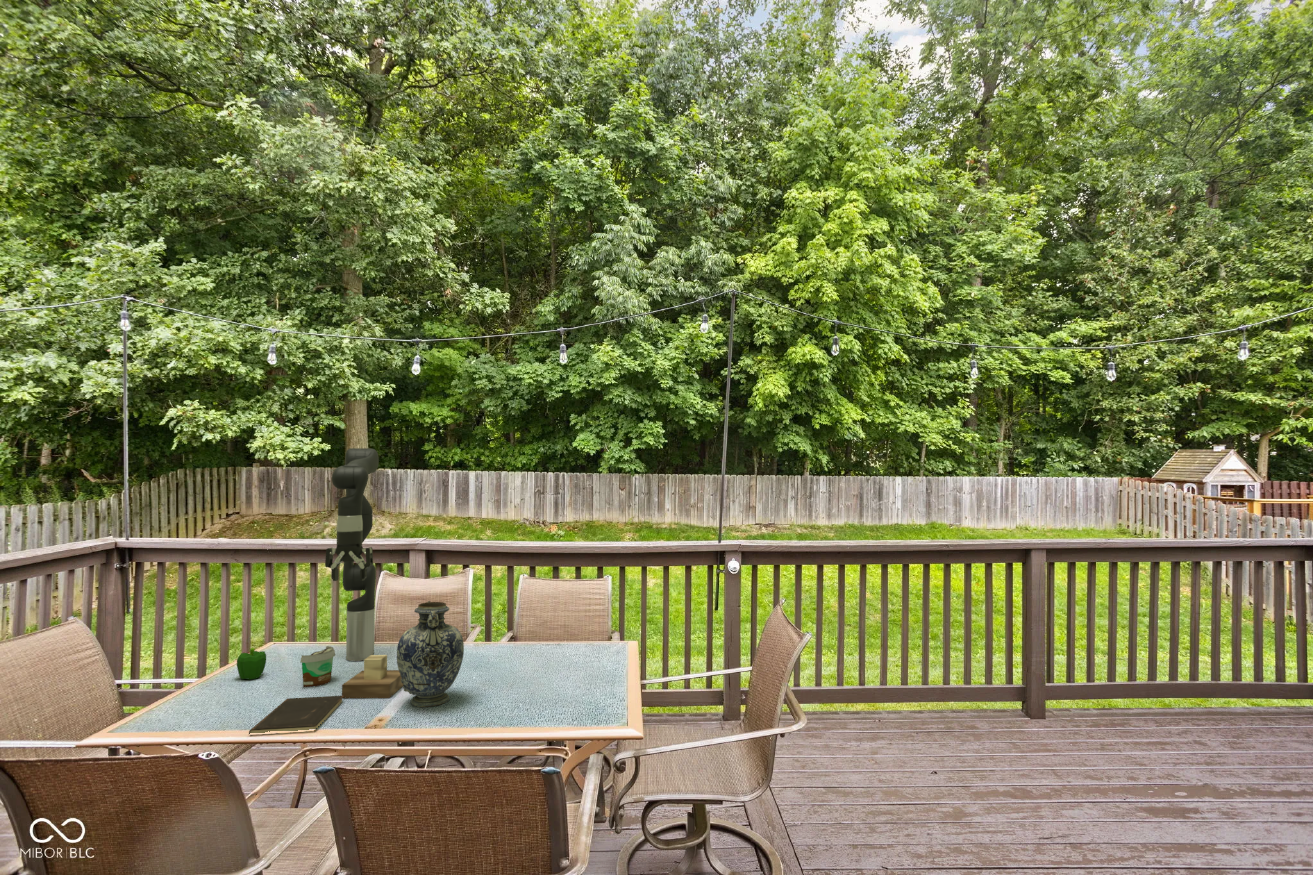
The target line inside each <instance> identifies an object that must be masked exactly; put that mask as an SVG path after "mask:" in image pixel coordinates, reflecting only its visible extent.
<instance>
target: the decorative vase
mask: <svg viewBox="0 0 1313 875" xmlns="http://www.w3.org/2000/svg"><path fill="white" fill-rule="evenodd" d="M448 611H450V607H449V606H448V605H447V603H446V602H442V601H431V600H427V602H423V603H419V604H418V606H417V607H415V609H414V613H416V614H418V616H419V617H418V620H417V621H418V623H417V625H415V626H411V628H408V629H407V630H406V631H405V632H404V633H403V634H402V635H401V636H400V638H399V641H398V643H397V648H396V663H397V670H399V672H400V675H401V677H402V679H401V683H403V687H402V688H403V692H405V693H409V695H413V696H412V698H411V700H410V704H411V705H412V706H414V707H416V706H417V707H418V708H432V707H438V706H441V705H443V704H446V703H447V702H449V701H450V695H449V694H448V693H446V691H447V690H449V689H450V688H451V686H452V685H453V684H454V682H455V681H456V680H457V677H458V674H460V673H459V672H460V670H461V666H462V664H463V660H464V653H465V652H464V651H465V648H464V646H465V643H464V639H463V635H462V633H461V631H460V630H459V628H457V627H456V626H454V625H451V624H448V623H446V622H445V619H446V618H445V614H446V612H448Z"/></svg>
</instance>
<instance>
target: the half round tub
mask: <svg viewBox="0 0 1313 875" xmlns="http://www.w3.org/2000/svg"><path fill="white" fill-rule="evenodd" d="M335 656H336V651H335V647H333V646H330V645H326V646H325V648H324V649H322V650H319V651H314V652H312V653H311V654H307V655H301V657H300V663H301V671H302V672H301V673H302V687H303V688H314V687H313V686H315V687H320V685H321V686H324V685H327V684H330V683H331V681H332V672H333V663H334V662H333V660H334V657H335Z"/></svg>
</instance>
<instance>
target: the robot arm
mask: <svg viewBox="0 0 1313 875" xmlns="http://www.w3.org/2000/svg"><path fill="white" fill-rule="evenodd" d="M379 461H380V460H379V453H378V451H377V450H376V449H375V448H369V447H367V448H366V447H364V448H362V447H361V448H360V447H359V448H358V447H357V448H354V447H352V448H347V450H346V452H345V456H344V463H345V464H344V465H341V466H338V467H336V468H335V469H334V470H333V472H332V475H331V482H332V485H333V487H335V488H336V489H338V490H345V496H343V497H342V496H341V497H340V498H339V499H338V501H337V520H336V547H329V548H326V550H325V562H324V563H325V564H324V567H326V568H329V569H331V572H330V573H331V577H330V578H331V580H332V581H333V582H337V581H339V570H340V568H338V567H339V566H340V565H341V563H343V568H342V587H343V590H344V591H345V592H346V591H347V592H353V591H354V592H357V591H364V592H365V593H364V594H363V595H361V596H359V597H357V598H354V599H351V600H350V601H348V602H347V604H346V634H345V635H346V636H345V637H346V638H345V639H346V640H345V641H346V643H345V644H346V645H345V653H346V654H345V657H346V658H345V660H347V661H349V662H359V661H364V659H366V658H367V657H369V656H370V655H375V627H376V626H375V625H376V624H375V621H376V620H375V616H376V614H375V613H376V612H375V609H376V608H375V607H376V606H375V604H376V602H375V601H376V600H375V598H376V596H375V595H376V582H377V581H376V580H377V570H376V569H377V568H376V566H375V565H374V556H373V555H374V553H373V552H374V551H373V547H372V546H370V547H363V543H364V541H365V540H366V539H367V537H368V536H369V534H370V532H371V531H372V529H373V519H374V518H373V515H374V514H373V512H374V511H373V507H372V505H371V504H370V502H369V500H368V498H366V496H365V491H366V487H367V485H368V482H369V475H370V474H372V473H376V472H377V470H378V467H379V463H380V462H379ZM335 554H336V555H337V557H336V558H335V560H334V562H333V559H334V555H335ZM362 554H364V555H365V559H364V557H363V556H362ZM354 562H355V564H354Z"/></svg>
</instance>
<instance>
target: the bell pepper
mask: <svg viewBox="0 0 1313 875" xmlns="http://www.w3.org/2000/svg"><path fill="white" fill-rule="evenodd" d="M266 663H267V653H266V651H265V650H263V651H257V650H256V649H255V648H254V647H251V648H250V650H249V653H248V652H241V653H240V654H239V656H237V659H236V669H237V672H238V676H239V678H240V679H241V680H249V681H250V680H255V679H258V678H261V676H262V675H263V673H264V670H265V667H266Z"/></svg>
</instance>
